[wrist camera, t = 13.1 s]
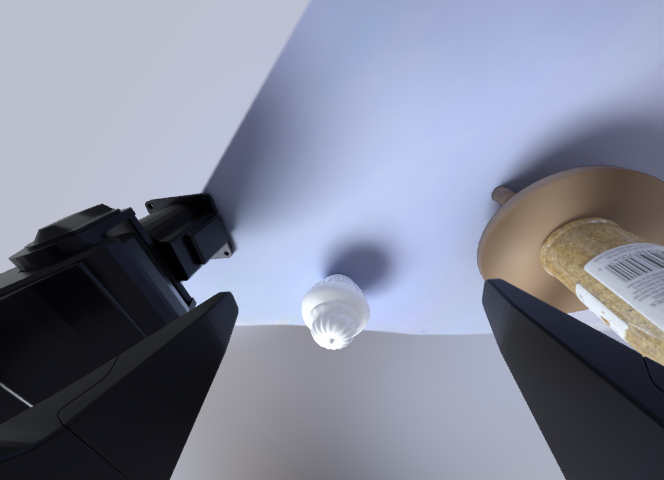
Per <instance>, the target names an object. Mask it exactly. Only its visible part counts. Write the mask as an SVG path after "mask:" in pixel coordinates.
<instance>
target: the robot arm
mask: <svg viewBox="0 0 664 480" xmlns="http://www.w3.org/2000/svg"><path fill="white" fill-rule="evenodd" d="M204 197H205V198H206V199H207V201H206V200H205V199H204ZM145 206H146V208H147V210H148V212H149V214H150V215H148V216H146V217H144V218H142V219H140V220H138V219H137V218H136V217H135V212H134V211H133V209H132V208H131V207H130V208H126V209H123V210H120V209H112V208H110V207H108V206H106V205H104V204H100V205H96V206H94V207H91V208H88V209H86V210H83V211H81V212H78V213H75V214H73V215H70V216H68V217H65V218H63V219H61V220H59V221H57V222H54V223H52V224H50V225H48V226H46V227H43V228H41V229H39V230H38V233H37V235H36V238H35V240H34V241H33V242H32V243H30V244H28V245H27V246H25V248H24V249H22V250H21V251H19V252H18V253H16V254H14V255H13V256H11V257H10V258H9V259H10V261H11V262H13V264H15V266H17V267H15V268H13V269H10V270H8V271H6V272H4V273H1V274H0V480H170V478H171V476H172V473H173V471H174V469H175V467H176V464H177V462H178V460H179V457H180V455H181V453H182V451H183V448H184V446H185V444H186V441H187V439H188V437H189V435H190V432H191V430H192V428H193V425H194V423H195V421H196V418H197V416H198V414H199V412H200V409H201V407H202V405H203V402H204V400H205V398H206V396H207V393H208V391H209V389H210V386H211V384H212V382H213V379H214V377H215V375H216V372H217V370H218V368H219V366H220V363H221V361H222V359H223V357H224V354H225V352H226V349H227V346H228V343H229V340H230V337H231V334H232V331H233V328H234V325H235V322H236V319H237V316H238V306H237V304H236V301H235V299H234V297H233V295H232V293H231V292H219V293H217V294H216V295H214V296H213V297H211V298H209V299H208V300H206V301H205V302H203V303H201V304H200V305H198V306H197V307H195V306H196V301H195V300H194V298H191V296H190V295H189V293H188V292H187V291H186V289H185V288H184V286H183V285H182V282H183V281H187V280H189V279H190V278H191V277H192V276H193V275H194V274H195V273H196V272H197V271H198V270H199V269H200V268H201V267H202V266H203V265H205V264H206V263H207V262H208V261H209V260H210V259H219V258H229V257H231V256H232V255H233V249H232V247H231V244H230V242H229V238H228V236H227V233H226V230H225V228H224V225H223V223H222V220H221V218H220V216H219V214H218V211H217V209H216V206H215V204H214V201H213V199H212V197H211V195H210V194H208V193H200V194H192V195H184V196H178V197H169V198H162V199H154V200H150V201H147V202H146V203H145ZM152 206H153V207H152ZM226 251H227V252H228V253H227V252H226ZM482 304H483V307H484V310H485V312H486V315H487V318H488V320H489V323H490V326H491V328H492V331H493V334H494V336H495V339H496V342H497V344H498V347H499V349H500V351H501V353H502V355H503V358H504V359H505V361H506V363H507V365H508V367H509V369H510V371H511V373H512V375H513V377H514V379H515V381H516V383H517V385H518V387H519V389H520V391H521V393H522V394H523V397H524V399H525V401H526V402H527V404H528V406H529V408H530V410H531V412H532V414H533V416H534V418H535V420H536V422H537V424H538V426H539V428H540V430H541V431H542V434H543V436H544V437H545V440H546V442H547V444H548V445H549V447H550V449H551V451H552V453H553V455H554V457H555V459H556V461H557V463H558V465H559V467H560V468H561V471H562V473H563V475H564V476H565V479H566V480H664V366H663V365H661V364H659V363H657V362H656V361H654V360H652V359H650V358H648V357H645V356H644V357H643V356H642V354H640V353H639V352H637V351H635V350H633V349H631V348H629V347H627V346H626V345H624V344H622V343H620V342H618V341H616V340H614V339H613V338H611V337H609V336H607V335H605V334H603V333H601V332H600V331H598V330H596V329H594V328H592V327H590V326H588V325H587V324H585V323H583V322H581V321H579V320H577V319H575V318H574V317H572V316H570V315H568V314H566V313H564V312H562V311H560V310H559V309H557V308H555V307H553V306H551V305H549V304H547V303H546V302H544V301H542V300H540V299H538V298H536V297H534V296H533V295H531V294H529V293H527V292H525V291H523V290H521V289H520V288H518V287H516V286H514V285H512V284H510V283H508V282H507V281H505V280H503V279H500V278H495V279H487V280H486V281H485V283H484V290H483V296H482Z"/></svg>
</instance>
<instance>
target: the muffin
mask: <svg viewBox="0 0 664 480" xmlns="http://www.w3.org/2000/svg"><path fill="white" fill-rule="evenodd" d="M369 315H370V311H369V305H368V302H367V300H366V298H365V295H364V294H363V292H362V290H361V289H360V288H359V287H358V286H357V285H356V284H355V283H354V282H353V281H352V280H351V278H349V277H348V276H345V275H342V274H341V275H340V274H335V275H331V276H328V277H327V278H325V279H323V280H322V281H320V282H318V283H317V284H316V285H315V286H313V287H312V289H310V290H309V291H308V292H307V294H306V295H305V297H304V299H303V302H302V316H303V319H304V321H305V323H306V324H307V326H308V327H309V328H310V329H311V334H312V336H313V338H314V340H315V341H316V342H317V343H318V344H319V345H320V346H322V347H326V348H327V349H330V348H332V349H333V350H335V349H336V348H338V349H341V348H342V347H345V346H348V343H349V342H351V341H352V340H353V336H355V335H357V334H358V333H360V332H361V331H362V330H363V329H364V327H365V326H366V325H367V323H368V320H369Z"/></svg>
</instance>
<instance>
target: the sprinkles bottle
mask: <svg viewBox="0 0 664 480" xmlns="http://www.w3.org/2000/svg"><path fill="white" fill-rule="evenodd" d="M539 255H540V260H541V264H542V267H543V268H544V270H545V271H546V272H548V273H549V274H550V275H552V276H554V277H556V278H557V279H558V280H560V281H561V282H562V283H563V284H564V285H565V286H566V287H567V288H568V289H570V290H571V291H572V292H573V293H574V294H575V295H576V296H577V297H578V298H579V299H580V301H581V302H582V303H583V304H585V305H586V306H587V307H588V308H589V309H590V310H591V311H592V312H593V313H595V314H596V315H597V316H598V317H599V318H600V319H601V320H602V321H603V322H605V323H606V324H607V325H608V326H609V327H610V328H612V329H613V330H614V331H615V332H616V333H617V334H618V335H619V336H620V337H621V338H623V339H624V340H625V341H626V342H628V343H629V344H630V345H631V346H632V347H633V348H634V349H636V350H637V351H638V352H639V353H640V354H642V356H643V357H644V356H645V357H648V358H650V359H652V360H654V361H656V362H657V363H659V364H661V365H663V366H664V247H663V246H660V245H656V244H653V243H651V242H649V241H647V240H644V239H643V238H641V237H639V236H636V235H634V234H633V233H630V232H628V231H626V230H624V229H622V228H621V227H620V226H619V225H618V224H617V223H615V222H613V221H611V220H608V219H604V218H597V217H592V218H584V219H580V220H576V221H573V222H570V223H568V224H566V225H564V226H562V227H560V228H559V229H557V230H556V231H554V232H553V233H552V234H551V235H550V236H549V237H548V238H547V240H546V241H545V242H544V243H543V245H542V246H541V250H540V254H539Z"/></svg>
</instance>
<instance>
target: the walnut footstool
mask: <svg viewBox="0 0 664 480" xmlns="http://www.w3.org/2000/svg"><path fill="white" fill-rule="evenodd" d="M492 199H493V200H494V201H496V202H497V203H498V204H500V205H501V206H502V207H501V208H500V209H499V210H498V211H497V212H496V213H495V214H494V216H493V217H492V218H491V220H490V221H489V223H488V224H487V226H486V228H485V229H484V231H483V233H482V236H481V239H480V241H479V245H478V250H477V262H478V268H479V271H480V274H481V275H482V277H483V279H484V281H486V280H487V279H495V278H500V279H503V280H505V281H507V282H508V283H510V284H512V285H514V286H516V287H518V288H520V289H521V290H523V291H525V292H527V293H529V294H531V295H533V296H534V297H536V298H538V299H540V300H542V301H544V302H546V303H547V304H549V305H551V306H553V307H555V308H557V309H559V310H560V311H562V312H564V313H571V312H577V311H581V310H586V309H589V308H588V307H587V306H586V305H585V304H583V303H582V302H581V301H580V299H579V298H578V297H577V296H576V295H575V294H574V293H573V292H572V291H571V290H570V289H568V288H567V287H566V286H565V285H564V284H563V283H562V282H561V281H560V280H558V279H557V278H556V277H554V276H552V275H550V274H549V273H548V272H546V271H545V270H544V268H543V267H542V264H541V260H540V255H539V254H540V250H541V246H542V245H543V243H544V242H545V241H546V240H547V238H548V237H549V236H550V235H551V234H552V233H553V232H554V231H556V230H557V229H559V228H560V227H562V226H564V225H566V224H568V223H570V222H573V221H576V220H580V219H584V218H592V217H597V218H604V219H608V220H611V221H613V222H615V223H617V224H618V225H619V226H620V227H621V228H622V229H624V230H626V231H628V232H630V233H633V234H634V235H636V236H639V237H641V238H643V239H644V240H647V241H649V242H651V243H653V244H656V245H660V246H663V247H664V182H663V181H661V180H659V179H658V178H656V177H653V176H651V175H648V174H645V173H642V172H638V171H634V170H630V169H625V168H621V167H616V166H606V165H593V166H583V167H577V168H571V169H568V170H564V171H561V172H557V173H555V174H552V175H549V176H547V177H544V178H542V179H540V180H538V181H536V182H534V183H532V184H531V185H529V186H527V187H526V188H524V189H523V190H521V191H520V192H518V193H515V192H514V191H512V190H510V189H508V188H507V187H505V186H500V187H497V188H496V189H495V190H494V191H493V192H492Z"/></svg>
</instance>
